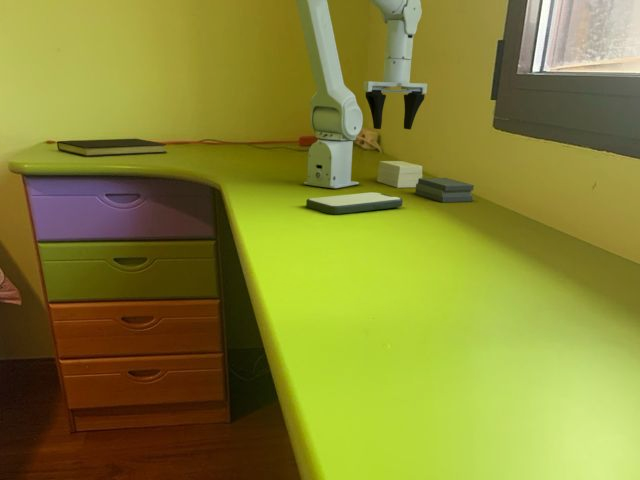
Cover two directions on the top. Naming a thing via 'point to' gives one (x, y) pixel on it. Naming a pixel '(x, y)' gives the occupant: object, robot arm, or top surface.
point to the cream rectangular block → (398, 178)
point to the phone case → (354, 203)
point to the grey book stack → (444, 189)
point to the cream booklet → (400, 167)
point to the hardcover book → (111, 147)
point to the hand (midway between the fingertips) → (392, 129)
